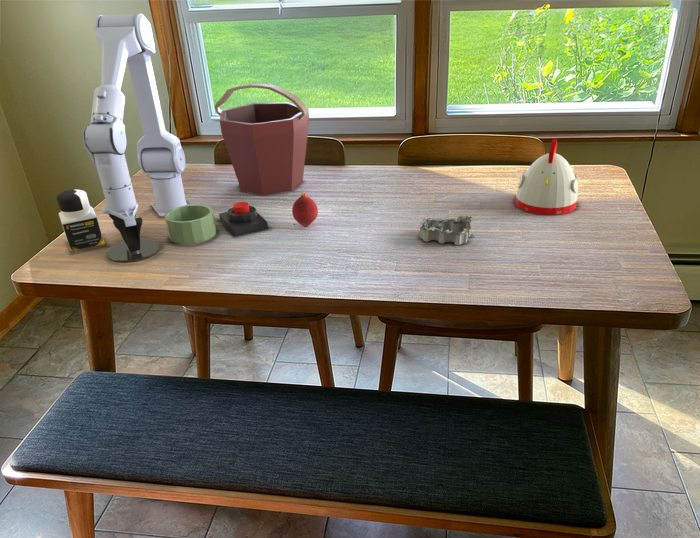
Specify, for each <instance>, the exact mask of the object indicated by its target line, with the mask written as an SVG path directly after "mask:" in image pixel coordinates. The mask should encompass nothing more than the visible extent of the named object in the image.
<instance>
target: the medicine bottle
mask: <svg viewBox="0 0 700 538" xmlns="http://www.w3.org/2000/svg"><path fill="white" fill-rule="evenodd" d="M56 202H57V204H58V207H59V210H60V212H58V217H59V220H60V223H61V226H62V230H63V232H64V236H65V238H66V241H67V244H68V247H69V250H70V252H76V251H80V250H85V249H89V248H93V247H97V246H102V245H105V240H104V237H103V234H102V233H103V232H102V231H101V230H102V229H101V226H100V222H99V219H98V216H97V213H96V212H95V210H94V208H93V206H91V203H90V202H89V198H88V194H87V192H86V191H85V190H82V189H76V188H75V189H73V188H72V189H68V190H64V191H62V192H60V193H59V194H58V195H56Z"/></svg>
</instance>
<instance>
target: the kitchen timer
mask: <svg viewBox="0 0 700 538" xmlns="http://www.w3.org/2000/svg"><path fill="white" fill-rule="evenodd" d="M557 150H558V138H552V140H551V143H550V148H549V151H548V153H545V154H543V155H541V156H539V157H538V158H537V159H536V160H534V161H533V162H532V163H531V164H530V165H529V167H528V168H527V169H526V170H524V171H523V173H522V174H521V176H520V178H519V183H518V185H517V190H516V197H515V205H516V206H517V208H519V209H520V210H523V211H524V212H528V213H530V214H535V215H544V216H557V215H564V214H567V213H570V212H573V211H574V210H575V209H576V208H577V204H578V192H579V186H578V185H579V180H578V175H577V174H575V172H574V170H573V168H572V166H571V164H570V163H569V162H568V161H567V159H565V158H564V156H562V155H561V154H560V153H559V154H558V153H557Z"/></svg>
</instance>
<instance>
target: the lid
mask: <svg viewBox="0 0 700 538" xmlns="http://www.w3.org/2000/svg"><path fill="white" fill-rule="evenodd" d="M161 247H162V246H161V243H160V242H159V241H158V240H156V239H153V238H149V237H140V250H138V251H133V252H130V250H129V249H128V247H127V245H126V243H125V241H124V240H122V241H119V242H117V243H115V244H113V245H112V246H110V247H109V248H108V249H107V250H106V258H107V259H109V260H110V261H111V262H114V263H125V264H126V263H135V262H140V261H143V260H147V259H150V258H152V257H153V256H155V255H156V254H158V253H159V252H160V250H161V249H162V248H161Z"/></svg>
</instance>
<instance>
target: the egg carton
mask: <svg viewBox="0 0 700 538" xmlns="http://www.w3.org/2000/svg"><path fill="white" fill-rule="evenodd" d="M472 221H473V217H472V216H468V215H465V216H464V215H461V216H457V218H454V217H450V218H443V217H441V218H436V219H435V218H431V217H425V218H423V220H422V221H420V224H418V226H419V238H420V239H422V240H423V242H426V243H427V242H430V241H437V242H438V244H445V243H454V245H455V246H460V245H463V244H467V242H468V238H470V236H471V231H472V226H471V223H472Z"/></svg>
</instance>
